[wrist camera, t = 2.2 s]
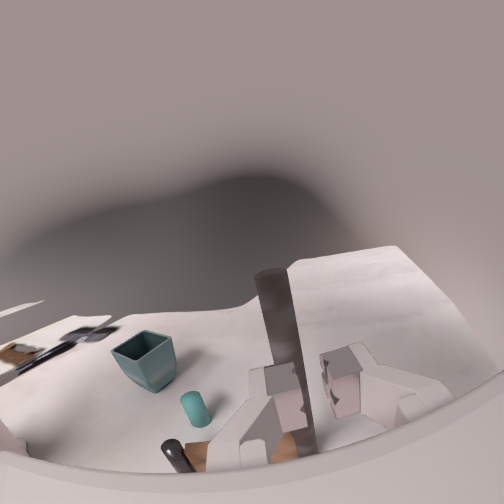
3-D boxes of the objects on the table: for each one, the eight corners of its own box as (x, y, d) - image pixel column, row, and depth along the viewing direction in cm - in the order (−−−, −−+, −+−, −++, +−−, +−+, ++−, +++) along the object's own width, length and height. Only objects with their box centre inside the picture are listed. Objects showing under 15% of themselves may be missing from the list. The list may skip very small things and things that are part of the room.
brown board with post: (198, 477, 28) (111, 313, 22) (199, 462, 30) (121, 301, 25) (319, 459, 28) (289, 275, 22) (315, 444, 30) (284, 265, 25)
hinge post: (178, 479, 28) (159, 453, 27) (180, 466, 30) (162, 439, 29) (196, 479, 28) (178, 452, 27) (198, 465, 30) (181, 438, 29)
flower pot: (188, 376, 52) (172, 336, 50) (155, 403, 45) (135, 362, 43) (158, 366, 57) (143, 329, 55) (128, 389, 50) (109, 350, 48)
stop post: (190, 428, 38) (179, 405, 37) (192, 415, 41) (182, 392, 39) (210, 426, 38) (199, 403, 37) (211, 413, 41) (201, 389, 39)
